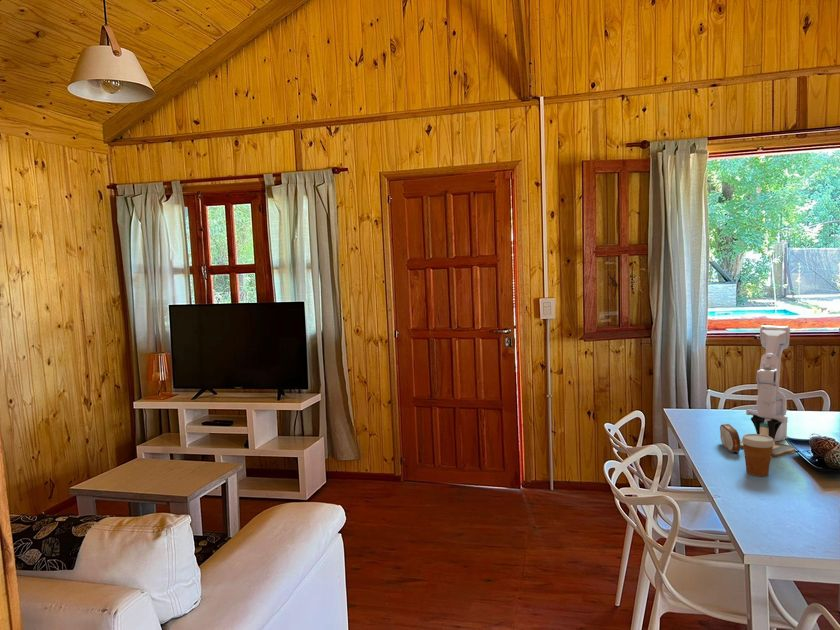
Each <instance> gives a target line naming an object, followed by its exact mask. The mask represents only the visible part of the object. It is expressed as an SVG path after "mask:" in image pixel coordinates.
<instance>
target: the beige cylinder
mask: <svg viewBox="0 0 840 630" xmlns="http://www.w3.org/2000/svg"><path fill="white" fill-rule="evenodd" d="M760 434H761V435H766V436H769V427H768V423H767V422H760Z"/></svg>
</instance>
